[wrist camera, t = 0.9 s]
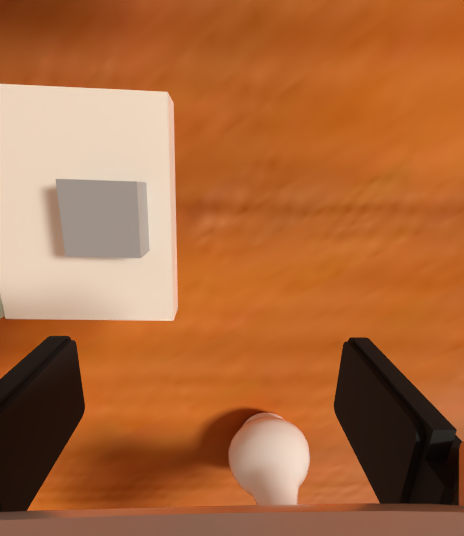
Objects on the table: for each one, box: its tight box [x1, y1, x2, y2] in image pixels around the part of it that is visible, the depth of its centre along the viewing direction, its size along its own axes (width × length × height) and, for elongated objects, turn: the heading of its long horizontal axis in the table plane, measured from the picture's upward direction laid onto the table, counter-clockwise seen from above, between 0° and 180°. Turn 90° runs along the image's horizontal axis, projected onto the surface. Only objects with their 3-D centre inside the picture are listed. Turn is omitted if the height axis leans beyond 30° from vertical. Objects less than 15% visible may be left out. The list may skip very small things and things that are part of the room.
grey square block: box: [56, 179, 150, 258], centre depth 24 cm, size 6×6×3 cm
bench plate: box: [0, 84, 178, 321], centre depth 26 cm, size 20×16×3 cm
